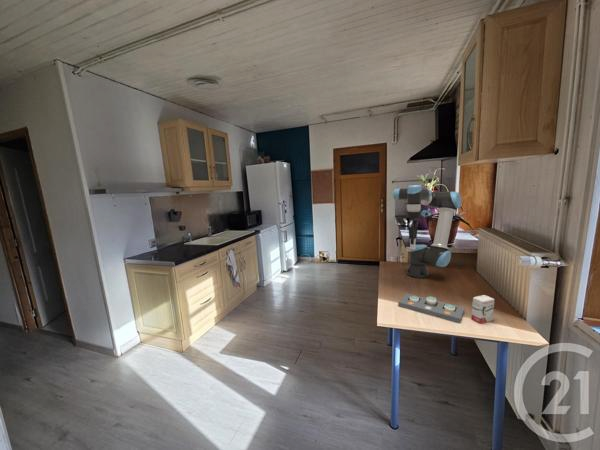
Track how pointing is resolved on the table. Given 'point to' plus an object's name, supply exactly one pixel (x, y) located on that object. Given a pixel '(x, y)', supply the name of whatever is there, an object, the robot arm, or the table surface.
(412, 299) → the button
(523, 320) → the table surface
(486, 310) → the ink box
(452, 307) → the button
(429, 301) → the button
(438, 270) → the table surface
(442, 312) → the board
